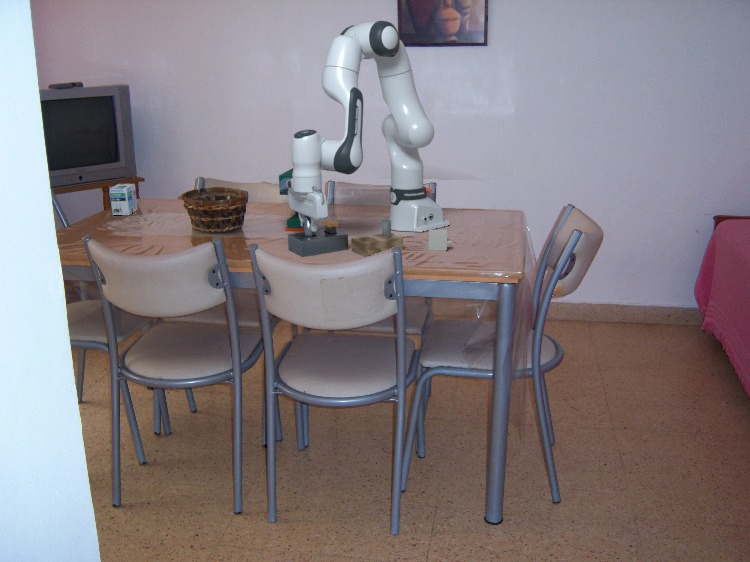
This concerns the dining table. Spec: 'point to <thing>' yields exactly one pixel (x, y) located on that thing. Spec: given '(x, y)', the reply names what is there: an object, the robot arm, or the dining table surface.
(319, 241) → the socket block
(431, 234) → the pale grey square block
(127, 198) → the light bulb box
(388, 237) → the rack
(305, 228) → the bit
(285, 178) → the power tool
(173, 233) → the dining table surface
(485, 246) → the dining table surface
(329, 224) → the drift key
